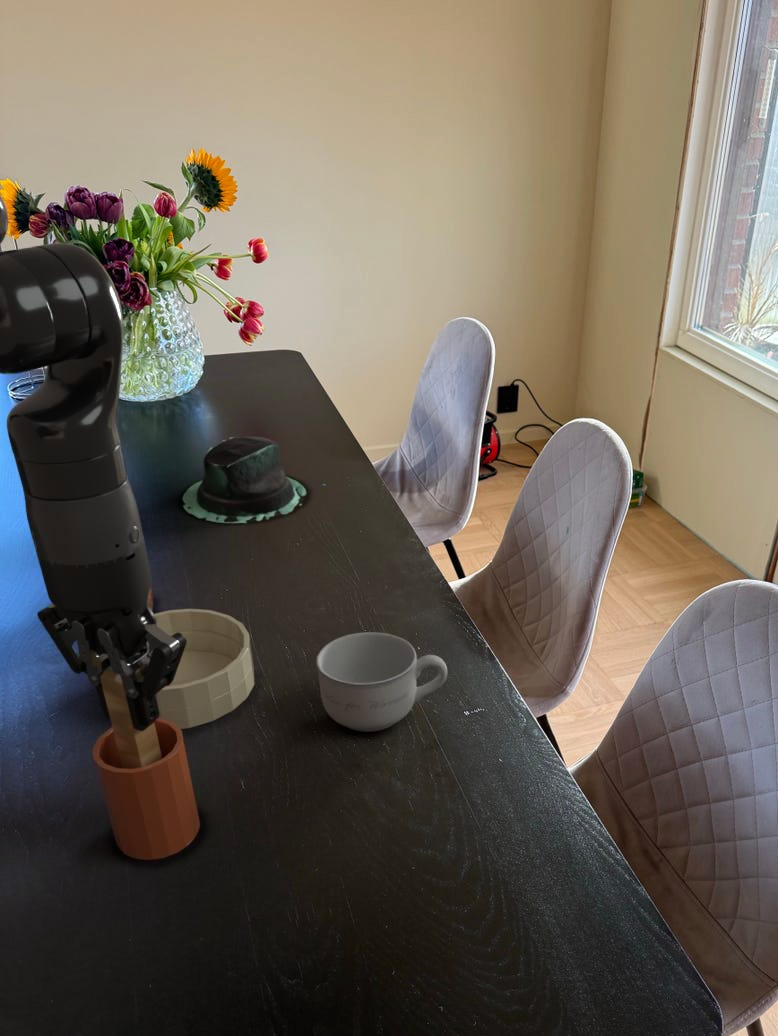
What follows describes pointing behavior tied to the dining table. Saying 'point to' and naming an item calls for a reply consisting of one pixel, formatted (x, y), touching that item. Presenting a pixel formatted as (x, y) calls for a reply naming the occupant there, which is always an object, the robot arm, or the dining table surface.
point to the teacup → (373, 679)
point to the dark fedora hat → (242, 482)
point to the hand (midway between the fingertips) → (132, 719)
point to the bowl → (206, 667)
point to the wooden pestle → (128, 726)
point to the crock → (149, 796)
